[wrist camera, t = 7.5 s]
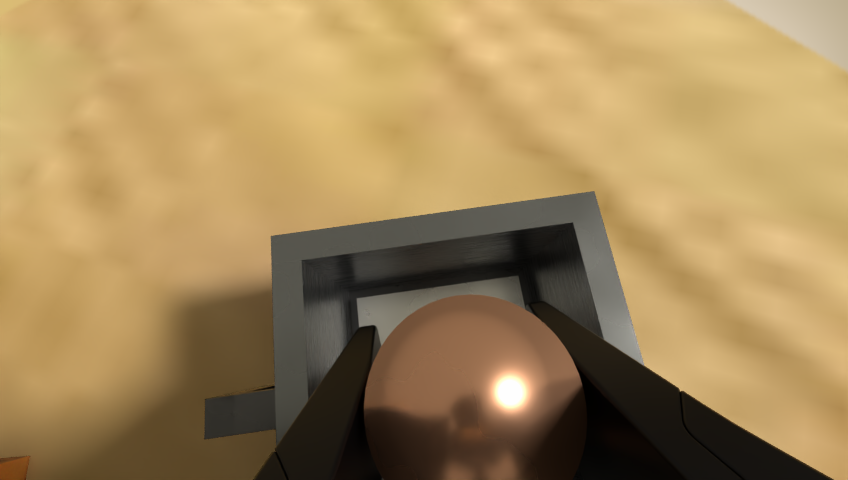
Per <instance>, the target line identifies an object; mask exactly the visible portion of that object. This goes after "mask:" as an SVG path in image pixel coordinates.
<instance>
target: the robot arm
mask: <svg viewBox="0 0 848 480" xmlns="http://www.w3.org/2000/svg"><path fill="white" fill-rule="evenodd" d="M526 310H527V311H528V312H530V313H532V314H533V315H535V316H536V317H537V318H538V319H540V320H541V321H542V322H543V323H545V324H546V325H547V326H548V327H549V328H550V329H551V330H552V331H553V332H554V333H555V335H556V336H557V337H558V338H559V340H560V341H561V342H562V344H563V345H564V346H565V348H566V349H567V351H568V353H569V355H570V356H571V358H572V360H573V362H574V364H575V366H576V369H577V371H578V373H579V376H580V379H581V382H582V386H583V389H584V394H585V400H586V407H587V433H586V441H585V446H584V451H583V455H582V458H581V461H580V464H579V467H578V469H579V471H580V473H581V475H582V478H583V480H834V479H832V478H830V477H828V476H826V475H825V474H823V473H821V472H819V471H817V470H816V469H814V468H812V467H810V466H809V465H807V464H805V463H803V462H801V461H800V460H798V459H796V458H794V457H792V456H791V455H789V454H787V453H785V452H783V451H782V450H780V449H778V448H776V447H775V446H773V445H771V444H769V443H767V442H766V441H764V440H762V439H761V438H759V437H757V436H755V435H754V434H752V433H750V432H748V431H747V430H745V429H743V428H742V427H740V426H738V425H736V424H735V423H733V422H731V421H730V420H728V419H727V418H725V417H723V416H722V415H720V414H719V413H717V412H715V411H714V410H712V409H711V408H709V407H707V406H706V405H704V404H703V403H701V402H699V401H698V400H696V399H695V398H693V397H692V396H690V395H689V394H687V393H686V392H684V391H680V390H679V388H678V387H676V386H675V385H673V384H672V383H670V382H668V381H667V380H665V379H664V378H662V377H661V376H659V375H658V374H656V373H655V372H653V371H652V370H650V369H648V368H647V367H645V366H644V365H642V364H641V363H639V362H638V361H636V360H635V359H633V358H632V357H630V356H628V355H627V354H625V353H624V352H622V351H621V350H619V349H618V348H616V347H615V346H613V345H612V344H610V343H608V342H607V341H605V340H604V339H602V338H601V337H599V336H598V335H596V334H595V333H593V332H592V331H590V330H588V329H587V328H585V327H584V326H582V325H581V324H579V323H578V322H576V321H575V320H573V319H572V318H570V317H568V316H567V315H565V314H564V313H562V312H561V311H559V310H558V309H556V308H555V307H553V306H552V305H550V304H548V303H547V302H545V301H536V302H530V303H528V304H527V305H526ZM380 348H381V342H380V338H379V334H378V329H377V327H376V326H375V325H369V326H362V327H359V328H358V329H357V330H356V332H355V333H354V335H353V336H352V338H351V339H350V341H349V342H348V343H347V345H346V346H345V348H344V349H343V351H342V352H341V354H340V355H339V356H338V358H337V359H336V361H335V362H334V364H333V365H332V367H331V368H330V369H329V371H328V372H327V374H326V375H325V377H324V378H323V380H322V381H321V383H320V384H319V385H318V387H317V388H316V390H315V391H314V393H313V394H312V396H311V397H310V398H309V400H308V401H307V403H306V404H305V406H304V407H303V409H302V410H301V411H300V413H299V414H298V416H297V417H296V419H295V420H294V422H293V423H292V425H291V426H290V427H289V429H288V430H287V432H286V433H285V435H284V436H283V438H282V439H281V440H280V442H279V443H278V445H277V446H276V448H275V451H276V452H272V453H271V455H270V456H269V458H268V459H267V460H266V462H265V463H264V465H263V466H262V468H261V469H260V470H259V472H258V473H257V475H256V476H255V477H254V479H253V480H382V476H381V474H380V473H379V471H378V469H377V467H376V464H375V462H374V460H373V457H372V455H371V452H370V448H369V445H368V441H367V437H366V430H365V423H364V399H365V390H366V385H367V381H368V376H369V373H370V370H371V367H372V364H373V362H374V360H375V358H376V356H377V354H378V351H379V349H380Z"/></svg>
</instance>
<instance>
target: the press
mask: <svg viewBox="0 0 848 480" xmlns="http://www.w3.org/2000/svg"><path fill="white" fill-rule="evenodd" d="M271 256H272V295H273V334H274V372H275V385H269V386H262V387H258V388H253V389H249V390H244V391H240V392H236V393H231V394H227V395H222V396H218V397H213V398H209V399H205V435H204V439H211V438H218V437H224V436H231V435H238V434H245V433H252V432H258V431H265V430H272V429H276V446H277V445H278V443H279V442H280V440H281V439H282V438H283V436H284V435H285V433H286V432H287V430H288V429H289V427H290V426H291V425H292V423H293V422H294V420H295V419H296V417H297V416H298V414H299V413H300V411H301V410H302V409H303V407H304V406H305V404H306V403H307V401H308V400H309V398H310V397H311V396H312V394H313V393H314V391H315V390H316V388H317V387H318V385H319V384H320V383H321V381H322V380H323V378H324V377H325V375H326V374H327V372H328V371H329V369H330V368H331V367H332V365H333V364H334V362H335V361H336V359H337V358H338V356H339V355H340V354H341V352H342V351H343V349H344V348H345V346H346V345H347V343H348V342H349V341H350V339H351V338H352V336H353V335H354V333H355V332H356V330H357V329H358V328H359V319H358V308H357V298H363V297H370V296H377V295H384V294H391V293H398V292H405V291H412V290H420V289H427V288H434V287H441V286H448V285H455V284H462V283H469V282H476V281H483V280H490V279H497V278H504V277H511V276H518V277H519V282H520V286H521V291H522V296H523V300H524V305H525V310H526V305H527V304H528V303H530V302H536V301H545V302H547V303H548V304H550V305H552V306H553V307H555V308H556V309H558V310H559V311H561V312H562V313H564V314H565V315H567V316H568V317H570V318H572V319H573V320H575V321H576V322H578V323H579V324H581V325H582V326H584V327H585V328H587V329H588V330H590V331H592V332H593V333H595V334H596V335H598V336H599V337H601V338H602V339H604V340H605V341H607V342H608V343H610V344H612V345H613V346H615V347H616V348H618V349H619V350H621V351H622V352H624V353H625V354H627V355H628V356H630V357H632V358H633V359H635V360H636V361H638V362H639V363H641V364H642V365H644V363H643V359H642V356H641V352H640V349H639V345H638V342H637V338H636V335H635V331H634V328H633V324H632V321H631V317H630V314H629V310H628V307H627V303H626V300H625V297H624V293H623V290H622V286H621V283H620V279H619V276H618V272H617V269H616V265H615V262H614V258H613V255H612V251H611V248H610V244H609V241H608V237H607V234H606V230H605V227H604V224H603V220H602V217H601V213H600V210H599V206H598V203H597V199H596V196H595V192H594V191H593V192H586V193H578V194H571V195H564V196H557V197H549V198H542V199H535V200H528V201H521V202H513V203H506V204H499V205H492V206H485V207H477V208H470V209H463V210H456V211H448V212H441V213H434V214H427V215H420V216H412V217H405V218H398V219H391V220H383V221H376V222H369V223H362V224H355V225H347V226H340V227H333V228H326V229H319V230H311V231H304V232H297V233H290V234H282V235H275V236H271ZM572 480H583V478H582V475H581V473H580V471H579V469H577V471H576V473H575V475H574V477H573V479H572Z"/></svg>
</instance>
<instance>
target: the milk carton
mask: <svg viewBox="0 0 848 480" xmlns="http://www.w3.org/2000/svg"><path fill="white" fill-rule="evenodd" d="M29 458H30V456H23V457H10V458H0V480H25V479H26V474H27V469H28V464H29Z"/></svg>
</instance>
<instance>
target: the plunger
mask: <svg viewBox="0 0 848 480" xmlns="http://www.w3.org/2000/svg"><path fill="white" fill-rule="evenodd" d="M357 308H358V319H359V327H362V326H369V325H375V326H376V327H377V329H378V334H379V338H380V342H381V348H380V349H379V351H378V354H377V356H376V358H375V360H374V362H373V364H372V367H371V370H370V373H369V376H368V381H367V385H366V390H365V399H364V423H365V430H366V437H367V441H368V445H369V448H370V452H371V455H372V457H373V460H374V462H375V464H376V467H377V469H378V471H379V473H380V474H381V476H382V480H572V479H573V477H574V475H575V473H576V471H577V469H578V467H579V464H580V461H581V458H582V455H583V451H584V446H585V441H586V433H587V407H586V400H585V394H584V389H583V386H582V382H581V379H580V376H579V373H578V371H577V369H576V366H575V364H574V362H573V360H572V358H571V356H570V355H569V353H568V351H567V349H566V348H565V346H564V345H563V344H562V342H561V341H560V340H559V338H558V337H557V336H556V335H555V333H554V332H553V331H552V330H551V329H550V328H549V327H548V326H547V325H546V324H545V323H543V322H542V321H541V320H540V319H538V318H537V317H536V316H535V315H533V314H532V313H530V312H528V311H527V310H525V305H524V300H523V296H522V291H521V286H520V282H519V277H518V276H511V277H504V278H497V279H490V280H483V281H476V282H469V283H462V284H455V285H448V286H441V287H434V288H427V289H420V290H412V291H405V292H398V293H391V294H384V295H377V296H370V297H363V298H357Z"/></svg>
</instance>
